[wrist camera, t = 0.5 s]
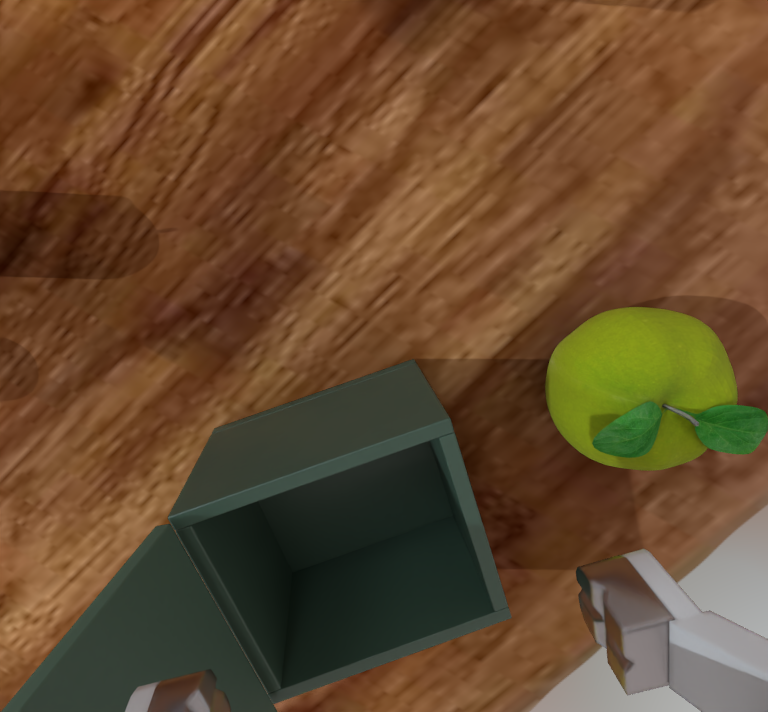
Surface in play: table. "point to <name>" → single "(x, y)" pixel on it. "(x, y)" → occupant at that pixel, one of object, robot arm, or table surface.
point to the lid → (143, 640)
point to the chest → (340, 532)
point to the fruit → (648, 391)
